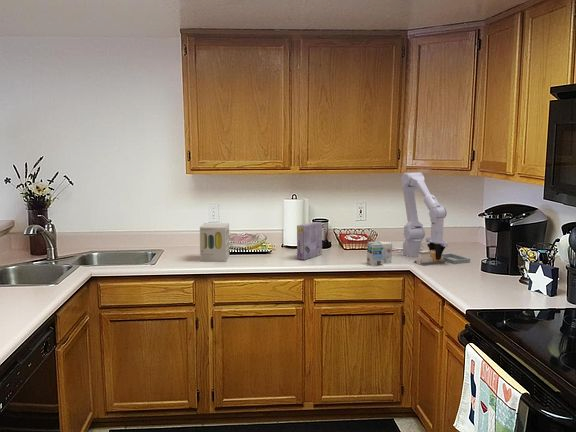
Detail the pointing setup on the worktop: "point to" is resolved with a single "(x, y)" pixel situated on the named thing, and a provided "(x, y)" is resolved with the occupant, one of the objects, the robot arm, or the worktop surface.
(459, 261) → the slate tray
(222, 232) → the supplement box
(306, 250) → the cake pan box
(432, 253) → the block
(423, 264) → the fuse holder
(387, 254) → the light bulb box
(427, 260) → the cream rectangular block
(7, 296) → the worktop surface
